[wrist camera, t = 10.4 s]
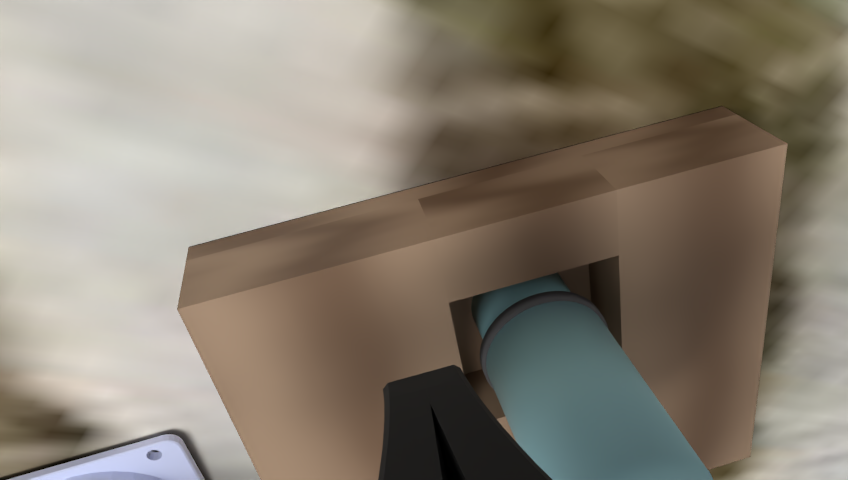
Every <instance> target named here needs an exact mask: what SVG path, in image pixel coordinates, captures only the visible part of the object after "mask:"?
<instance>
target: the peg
mask: <svg viewBox="0 0 848 480" xmlns="http://www.w3.org/2000/svg"><path fill="white" fill-rule="evenodd" d="M471 311H472V316H473V319H474V321H475V323H476V325H477V328H478V330H479V332H480V335H481V337H482V339H483V340H482V343H481V347H480V363H481V367H482V370H483V372H484V375H485V377H486V379H487V381H488V383H489V384H490V386H491V387H492V388H493V389H494V390H495V393H496V395H497V397H498V400H499V402H500V405H501V407H502V409H503V412H504V414H505V416H506V419H507V421H508V423H509V426H510V428H511V431H512V433H513V435H514V438H515V440H516V442H517V443H518V444H519V445H520V447H521V448H522V449H523V450H524V451H525V452H526V453H527V454H528V455H529V456H530V457H531V458H532V459H533V461H534V462H535V463H536V464H537V465H538V466H539V467H540V468H541V469H542V470H543V471H544V472H545V473H546V474H547V475H548V476H549V477H550V478H551V479H552V480H713V478H712V476H711V474H710V472H709V471H708V470H707V468H706V467H705V465H704V464H703V463H702V461H701V460H700V458H699V457H698V455H697V454H696V453H695V451H694V450H693V448H692V447H691V446H690V444H689V443H688V441H687V440H686V438H685V437H684V436H683V434H682V433H681V431H680V430H679V429H678V427H677V426H676V424H675V423H674V422H673V420H672V419H671V417H670V416H669V414H668V413H667V412H666V410H665V409H664V407H663V406H662V405H661V403H660V402H659V400H658V399H657V398H656V396H655V395H654V393H653V392H652V390H651V389H650V388H649V386H648V385H647V383H646V382H645V381H644V379H643V378H642V376H641V375H640V373H639V372H638V371H637V369H636V368H635V366H634V365H633V364H632V362H631V361H630V359H629V358H628V357H627V355H626V354H625V352H624V351H623V349H622V348H621V347H620V345H619V344H618V342H617V341H616V340H615V338H614V337H613V335H612V334H611V333H610V331H609V329H608V326H607V323H606V321H605V319H604V317H603V316H602V314H601V313H600V311H599V310H598V309H597V307H596V306H595V305H594V304H593V303H592V302H591V301H590V300H588V299H587V298H585V297H583V296H581V295H579V294H576V293H572V292H570V290H569V289H568V287H567V286H566V284H565V283H564V281H563V280H562V278H561V277H560V275H559V274H558V273H554V274H550V275H547V276H543V277H540V278H536V279H532V280H529V281H525V282H522V283H518V284H515V285H511V286H507V287H504V288H500V289H497V290H493V291H489V292H486V293H482V294H479V295H475V296H473V298H472V304H471Z"/></svg>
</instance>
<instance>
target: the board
mask: <svg viewBox="0 0 848 480" xmlns="http://www.w3.org/2000/svg"><path fill="white" fill-rule="evenodd" d="M786 152H787V143H785V142H784V141H782V140H780V139H779V138H777V137H775V136H773V135H772V134H770V133H768V132H766V131H765V130H763V129H761V128H759V127H758V126H756V125H754V124H752V123H751V122H749V121H747V120H746V119H744V118H742V117H740V116H739V115H737V114H735V113H733V112H732V111H730V110H728V109H726V108H725V107H723V106H721V107H717V108H713V109H710V110H706V111H702V112H698V113H695V114H691V115H687V116H683V117H679V118H676V119H672V120H668V121H664V122H661V123H657V124H653V125H649V126H645V127H642V128H638V129H634V130H630V131H627V132H623V133H619V134H615V135H611V136H608V137H604V138H600V139H596V140H593V141H589V142H585V143H581V144H577V145H574V146H570V147H566V148H562V149H559V150H555V151H551V152H547V153H543V154H540V155H536V156H532V157H528V158H525V159H521V160H517V161H513V162H509V163H506V164H502V165H498V166H494V167H491V168H487V169H483V170H479V171H475V172H472V173H468V174H464V175H460V176H456V177H453V178H449V179H445V180H441V181H438V182H434V183H430V184H426V185H422V186H419V187H415V188H411V189H407V190H404V191H400V192H396V193H392V194H388V195H385V196H381V197H377V198H373V199H370V200H366V201H362V202H358V203H354V204H351V205H347V206H343V207H339V208H336V209H332V210H328V211H324V212H320V213H317V214H313V215H309V216H305V217H302V218H298V219H294V220H290V221H286V222H283V223H279V224H275V225H271V226H268V227H264V228H260V229H256V230H252V231H249V232H245V233H241V234H237V235H234V236H230V237H226V238H222V239H218V240H215V241H211V242H207V243H203V244H200V245H196V246H192V247H189V248H188V254H187V259H186V265H185V270H184V275H183V281H182V286H181V292H180V297H179V303H178V308H177V310H178V312H179V314H180V316H181V318H182V320H183V322H184V324H185V326H186V328H187V330H188V332H189V334H190V336H191V338H192V340H193V342H194V344H195V346H196V348H197V350H198V352H199V354H200V356H201V359H202V361H203V363H204V365H205V367H206V369H207V371H208V373H209V375H210V377H211V379H212V381H213V383H214V385H215V387H216V389H217V391H218V393H219V395H220V397H221V399H222V401H223V403H224V405H225V407H226V409H227V412H228V414H229V416H230V418H231V420H232V422H233V424H234V426H235V428H236V430H237V432H238V434H239V436H240V438H241V440H242V442H243V444H244V446H245V448H246V450H247V452H248V454H249V456H250V458H251V460H252V462H253V465H254V467H255V469H256V471H257V473H258V475H259V477H260V479H261V480H378V478H379V470H380V463H381V455H382V447H383V434H384V395H383V388H384V387H385V386H386V384H387V383H389V382H392V381H396V380H400V379H403V378H407V377H410V376H414V375H418V374H421V373H425V372H429V371H432V370H436V369H439V368H443V367H447V366H450V365H456V366H458V367H460V368H461V370H462V372H463V373H464V375H465V377H466V378H467V380H468V381H469V383H470V385H471V386H472V388H473V389H474V390H475V392H476V393H477V395H478V396H479V397H480V399H481V400H482V401H483V403H484V404H485V405H486V407H487V408H488V409H489V410H490V412H491V413H492V414H493V416H494V417H495V418H496V419H497V420H498V422H499V423H500V424H501V425H502V426H503V428H504V429H505V430H506V431H507V432H508V433H509V434H510V435H511V437H512V438H513V439H514V440H515V438H514V435H513V433H512V431H511V428H510V426H509V423H508V421H507V419H506V416H505V414H504V412H503V409H502V407H501V405H500V402H499V400H498V397H497V395H496V393H495V390H494V389H493V388H492V387H491V386H490V384H489V383H488V381H487V379H486V377H485V375H484V372H483V370H482V367H481V363H480V347H481V343H482V340H483V339H482V337H481V335H480V332H479V330H478V328H477V325H476V323H475V321H474V319H473V316H472V311H471V304H472V298H473V296H475V295H479V294H482V293H486V292H489V291H493V290H497V289H500V288H504V287H507V286H511V285H515V284H518V283H522V282H525V281H529V280H532V279H536V278H540V277H543V276H547V275H550V274H554V273H558V274H559V275H560V277H561V278H562V280H563V281H564V283H565V284H566V286H567V287H568V289H569V290H570V292H572V293H576V294H579V295H581V296H583V297H585V298H587V299H588V300H590V301H591V302H592V303H593V304H594V305H595V306H596V307H597V309H598V310H599V311H600V313H601V314H602V316H603V317H604V319H605V321H606V323H607V326H608V329H609V331H610V333H611V334H612V335H613V337H614V338H615V340H616V341H617V342H618V344H619V345H620V347H621V348H622V349H623V351H624V352H625V354H626V355H627V357H628V358H629V359H630V361H631V362H632V364H633V365H634V366H635V368H636V369H637V371H638V372H639V373H640V375H641V376H642V378H643V379H644V381H645V382H646V383H647V385H648V386H649V388H650V389H651V390H652V392H653V393H654V395H655V396H656V398H657V399H658V400H659V402H660V403H661V405H662V406H663V407H664V409H665V410H666V412H667V413H668V414H669V416H670V417H671V419H672V420H673V422H674V423H675V424H676V426H677V427H678V429H679V430H680V431H681V433H682V434H683V436H684V437H685V438H686V440H687V441H688V443H689V444H690V446H691V447H692V448H693V450H694V451H695V453H696V454H697V455H698V457H699V458H700V460H701V461H702V463H703V464H704V465H705V467H706V468H707V470H709V469H712V468H715V467H719V466H722V465H725V464H728V463H732V462H735V461H738V460H741V459H745V458H748V457H750V454H751V446H752V438H753V429H754V421H755V412H756V404H757V396H758V387H759V379H760V370H761V362H762V353H763V345H764V337H765V328H766V320H767V311H768V303H769V295H770V286H771V278H772V269H773V261H774V253H775V244H776V236H777V227H778V219H779V211H780V202H781V194H782V185H783V177H784V168H785V160H786ZM515 441H516V440H515Z"/></svg>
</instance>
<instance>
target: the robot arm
mask: <svg viewBox="0 0 848 480" xmlns="http://www.w3.org/2000/svg"><path fill="white" fill-rule="evenodd" d="M383 395H384V434H383V447H382V455H381V463H380V470H379V478H378V480H552V479H551V478H550V477H549V476H548V475H547V474H546V473H545V472H544V471H543V470H542V469H541V468H540V467H539V466H538V465H537V464H536V463H535V462H534V461H533V459H532V458H531V457H530V456H529V455H528V454H527V453H526V452H525V451H524V450H523V449H522V448H521V447H520V445H519V444H518V443H517V442H516V441H515V440H514V439H513V438H512V437H511V435H510V434H509V433H508V432H507V431H506V430H505V429H504V428H503V426H502V425H501V424H500V423H499V422H498V420H497V419H496V418H495V417H494V416H493V414H492V413H491V412H490V410H489V409H488V408H487V407H486V405H485V404H484V403H483V401H482V400H481V399H480V397H479V396H478V395H477V393H476V392H475V390H474V389H473V388H472V386H471V385H470V383H469V381H468V380H467V378H466V377H465V375H464V373H463V372H462V370H461V368H460V367H458V366H456V365H450V366H447V367H443V368H439V369H436V370H432V371H429V372H425V373H421V374H418V375H414V376H410V377H407V378H403V379H400V380H396V381H392V382H389V383H387V384H386V386H385V387H384V388H383ZM151 450H158V451H159V452H152V451H151ZM7 480H205V479H204V477H203V476H202V474H201V472H200V470H199V468H198V467H197V465H196V463H195V461H194V459H193V458H192V456H191V454H190V452H189V451H188V449H187V447H186V445H185V443H184V442H183V440H182V439H181V438H180V437H179V436H177V435H173V434H166V435H161V436H158V437H154V438H151V439H147V440H144V441H140V442H137V443H133V444H130V445H126V446H123V447H119V448H116V449H112V450H109V451H105V452H102V453H98V454H95V455H91V456H88V457H84V458H81V459H77V460H74V461H70V462H67V463H63V464H60V465H56V466H53V467H49V468H46V469H42V470H39V471H35V472H32V473H28V474H25V475H21V476H18V477H14V478H11V479H7Z"/></svg>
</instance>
